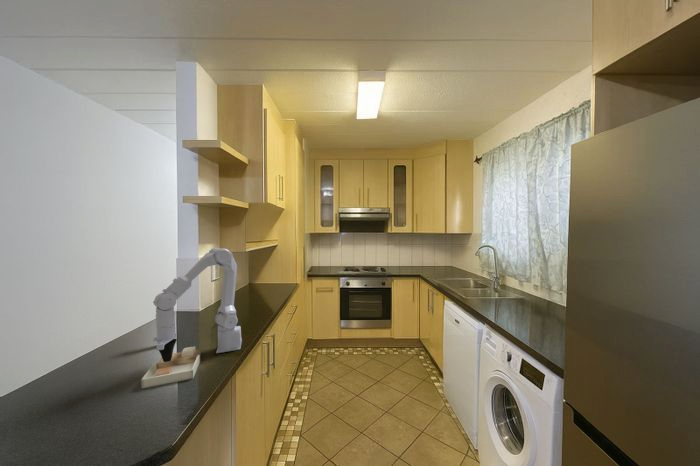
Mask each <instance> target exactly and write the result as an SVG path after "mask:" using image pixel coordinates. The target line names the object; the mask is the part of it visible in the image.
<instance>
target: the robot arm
mask: <svg viewBox="0 0 700 466" xmlns="http://www.w3.org/2000/svg"><path fill="white" fill-rule="evenodd" d="M216 265H218V267H220V268H221V269H222V270H223V276H222V287H221V288H222V289H221V299H220V306H219V307H218V309H217V313H216V315H215V317H214V321H215V323H216V324H217V348H216V352H215V353H216V354H220V353H225V352H226V353H227V352H232V351H238V350H241V347H242V343H243V338H242V327H241V325H237V324H238V322H239V320H238V317H237V310H236V308H235V296H236V283H237V276H238V275H237V272H238V264H237V263H236V260H235V258H234V253H233V252H231V251H230V250H229V249H227V248H223V247H222V248H220V247H213V248H211V249H210V250H209V251H208V252H206V253H205V254H204V255H203V256H202V257H201V258H200V259H199V260H198V261H197V262H196V263H195V264H194V265H193V266H192V267H191V269H189V271H187V273H186V274H185V275H184V276H178V277H177V278H175V277H174V279H173V280H172V283H171V284H170V285H168V286H167V287H166V289H164V288H163V290H162V292H161V293H158V294H157V295H156V296H155V298H154V300H153V302H152V303H153V305H154V306H155V320H156V321H155V325H156V337H154V338H153V342H156V345H155V346H156V347H155V348H156V351H158V352H159V353H160V355H161V358H162V359H163V361H164V362H168V361H171V359H172V354H173V353H174V348H175V345H176V343H177V342H178V341H177V333H176V317H175V306H176V304H177V300H179V298H181V296H183V295H184V293H186V292H187V291H188V290H189V289H190V288H191V287H192V281H194V280H195V279H196V278H197V277H198V276H199V275H200V274H201V273H203V271H205V270H206V269H207V268H208V267H212V266H216Z"/></svg>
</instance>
